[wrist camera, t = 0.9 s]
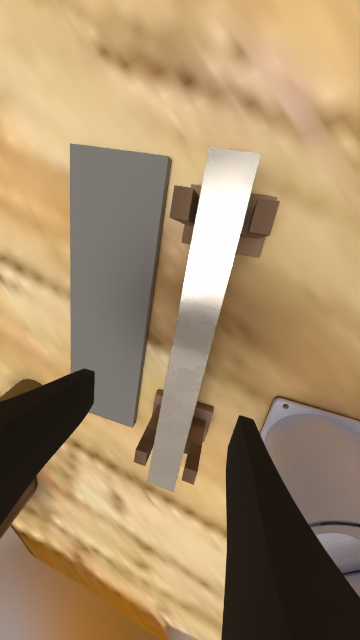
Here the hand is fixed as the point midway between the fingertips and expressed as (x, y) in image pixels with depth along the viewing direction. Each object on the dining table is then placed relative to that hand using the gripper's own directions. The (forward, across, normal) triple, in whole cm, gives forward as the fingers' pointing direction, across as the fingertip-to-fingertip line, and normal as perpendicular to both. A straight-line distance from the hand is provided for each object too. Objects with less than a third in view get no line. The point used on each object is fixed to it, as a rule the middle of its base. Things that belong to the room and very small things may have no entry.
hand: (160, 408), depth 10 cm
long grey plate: (+10, +8, 0) cm, 14 cm away
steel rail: (+7, 0, 0) cm, 7 cm away
